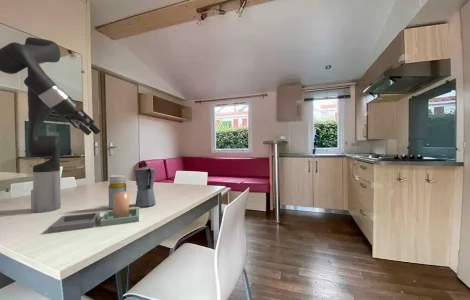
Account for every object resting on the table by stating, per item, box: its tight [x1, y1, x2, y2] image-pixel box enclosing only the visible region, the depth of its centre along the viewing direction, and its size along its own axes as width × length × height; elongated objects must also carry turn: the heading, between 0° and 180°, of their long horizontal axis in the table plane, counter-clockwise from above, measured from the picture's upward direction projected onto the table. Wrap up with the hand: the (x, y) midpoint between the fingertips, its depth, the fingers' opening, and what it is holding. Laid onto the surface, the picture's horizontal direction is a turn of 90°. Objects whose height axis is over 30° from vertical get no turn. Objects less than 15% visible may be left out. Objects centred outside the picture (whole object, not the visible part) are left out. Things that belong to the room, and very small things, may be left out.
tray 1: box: [48, 211, 101, 234], centre depth 76 cm, size 12×12×2 cm
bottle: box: [108, 174, 127, 211], centre depth 97 cm, size 7×7×15 cm
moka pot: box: [133, 163, 156, 208], centre depth 102 cm, size 10×15×20 cm, turn 43°
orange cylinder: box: [112, 190, 130, 218], centre depth 81 cm, size 5×5×10 cm
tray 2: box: [100, 207, 140, 227], centre depth 81 cm, size 12×12×2 cm
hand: (93, 133), depth 88 cm, fingers open, 8 cm apart
